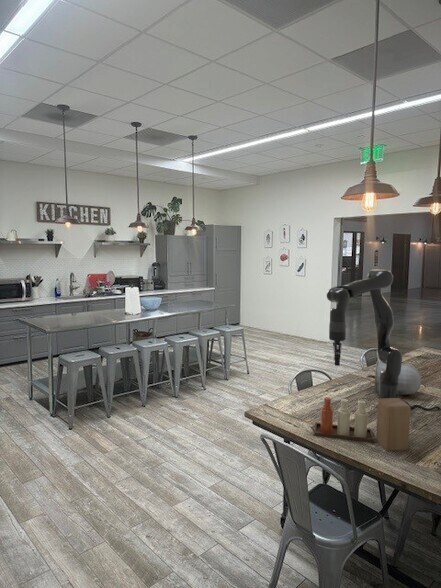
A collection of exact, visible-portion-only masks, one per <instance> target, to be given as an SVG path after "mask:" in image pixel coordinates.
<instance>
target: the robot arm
mask: <svg viewBox="0 0 441 588" xmlns="http://www.w3.org/2000/svg"><path fill="white" fill-rule="evenodd" d="M393 281H394V275H393V273H392V272H391V271H390V270H387V269H371V270H369V272H368V274H367V278H365V279H359V280H355V281H352V282H349V283H347V284H344V285H337V286H333V287H331V288H329V289H328V290H327V292H326V299H327V300H328V301H329V302H331V303H333V304H334V303H335V304H337V305H336V307H332V308H331V309H330V311H329V325H328V327H329V328H328V339H329V340H330V341H333V342H332V348H333V349H332V350H333V354H334V355H333V360H334V366H335V367H336V366H337V367H338V366H340V365H341V358H342V356H341V354H342V345H343V344H342V342H344V341H345V340H346V338H347V337H346V335H347V334H346V333H347V332H346V330H347V323H346V313H347V309H348V306H349V303H350V299H353V298H356V297H358V296H360V295H363V294H366V293H369V295H370V298H371V304H372V310H373V319H374V325H375V333H376V342H377V344H376V345H377V346H376V347H377V358H378V361H379V362H383V363H385V364H387V365H386V370H382V371H381V372H380V384H379V394H378V399H381V398H399V399H401V400H402V398H401V396H399V395H400V393H399V392H398V382H399V375H400V373H401V366H402V364H403V354H402V351H400V350H399V349H397V348H394V347H392V345H391V338H390V337H391V333H392V332H393V331H392V330H393V328H394V326H395V318H394V312H393V309H392V307H391V306H390V304H389V303H388V301H387V300H386V299H385V297H384V295H383V293H382V289H387V288H389V287H390V286H392V284H393ZM403 401H404V402H405V403H406V404H408V405H409V406H410V408H411V409H414V408H416V407H418V408H420V409H422V410H424V411H433V410H436V409H438V410H441V407H440V406H437V405H435V406H433V407H431V408H427V407H424V406H422V405H420V404H413V405H412V406H411V405H410V404H411V403H409V402H407V401H405V400H403Z"/></svg>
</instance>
